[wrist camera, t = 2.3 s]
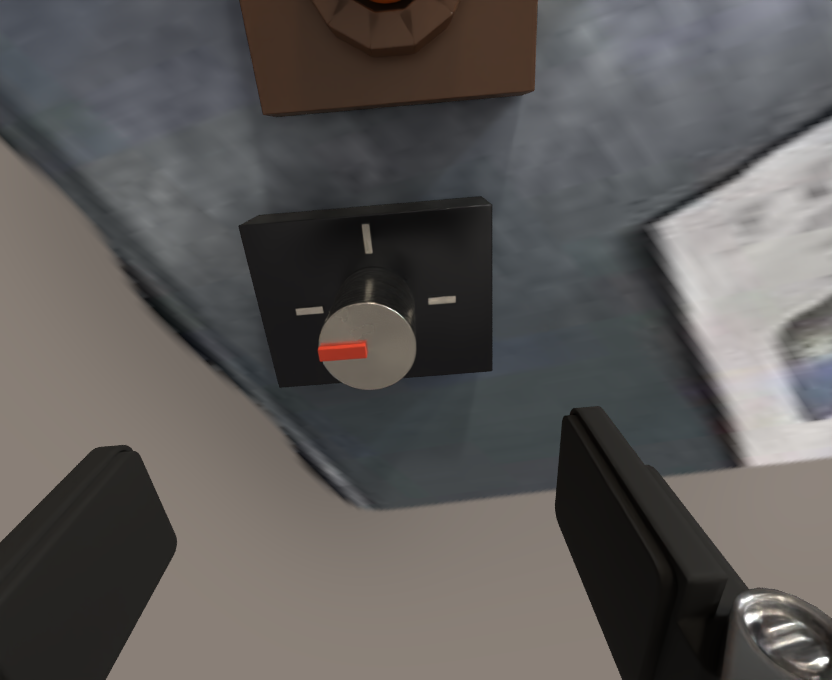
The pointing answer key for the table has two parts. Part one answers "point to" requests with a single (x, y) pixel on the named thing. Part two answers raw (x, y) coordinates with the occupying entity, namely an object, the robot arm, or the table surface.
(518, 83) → the block
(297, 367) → the dial panel
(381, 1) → the button
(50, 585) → the robot arm
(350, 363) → the dial
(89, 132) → the table surface
